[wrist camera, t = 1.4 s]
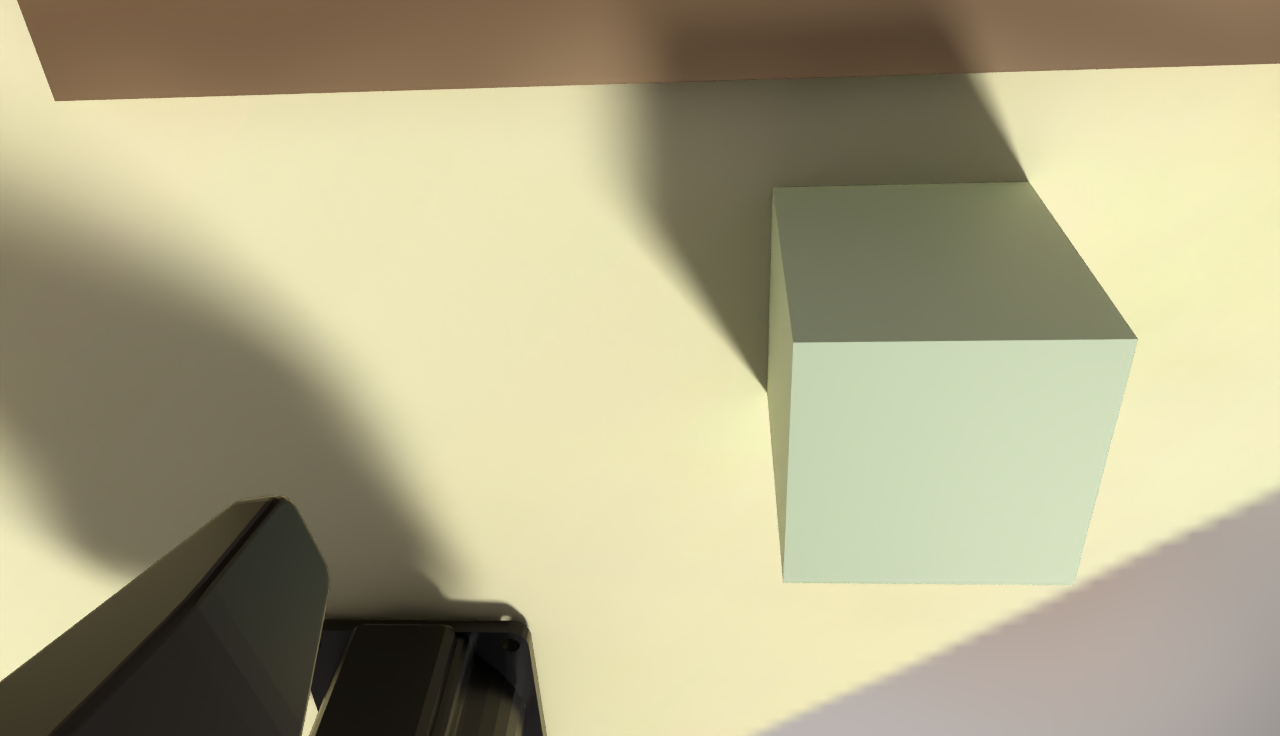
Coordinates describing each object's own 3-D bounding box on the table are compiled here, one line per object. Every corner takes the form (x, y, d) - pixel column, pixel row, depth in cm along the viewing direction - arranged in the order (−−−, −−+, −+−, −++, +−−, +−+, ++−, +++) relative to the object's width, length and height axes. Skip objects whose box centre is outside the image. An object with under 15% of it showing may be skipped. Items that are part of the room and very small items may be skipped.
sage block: (991, 390, 22) (1073, 585, 17) (767, 392, 23) (783, 582, 18) (1027, 180, 20) (1138, 339, 14) (772, 186, 20) (793, 342, 15)
